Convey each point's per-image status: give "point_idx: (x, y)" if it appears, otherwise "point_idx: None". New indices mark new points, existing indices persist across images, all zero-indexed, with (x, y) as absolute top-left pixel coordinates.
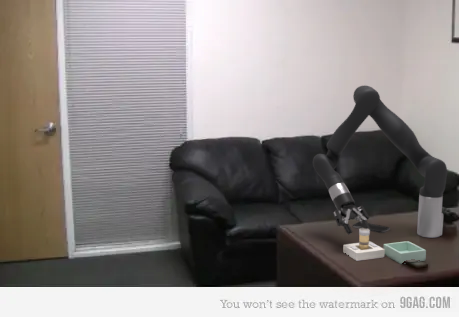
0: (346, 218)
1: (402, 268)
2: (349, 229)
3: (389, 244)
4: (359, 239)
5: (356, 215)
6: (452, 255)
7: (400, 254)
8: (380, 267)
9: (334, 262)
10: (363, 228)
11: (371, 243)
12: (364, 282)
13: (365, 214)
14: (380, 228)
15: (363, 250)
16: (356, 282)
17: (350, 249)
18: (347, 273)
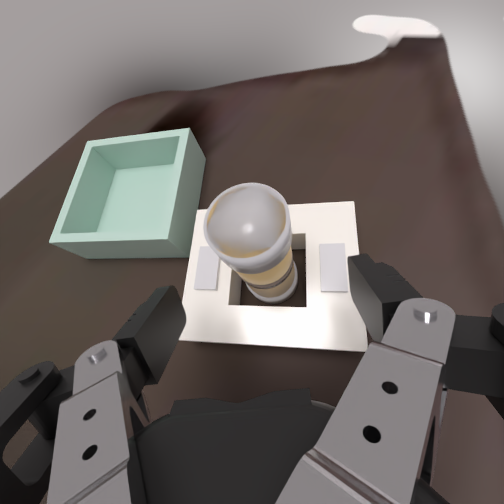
0: (422, 358)
1: (226, 129)
2: (377, 269)
3: (146, 231)
4: (290, 259)
5: (162, 420)
6: (22, 184)
7: (190, 133)
8: (289, 147)
9: (472, 233)
10: (231, 251)
11: (193, 305)
12: (416, 57)
13: (7, 415)
14: None
15: (298, 226)
16: (447, 59)
17: None
18: (452, 121)
